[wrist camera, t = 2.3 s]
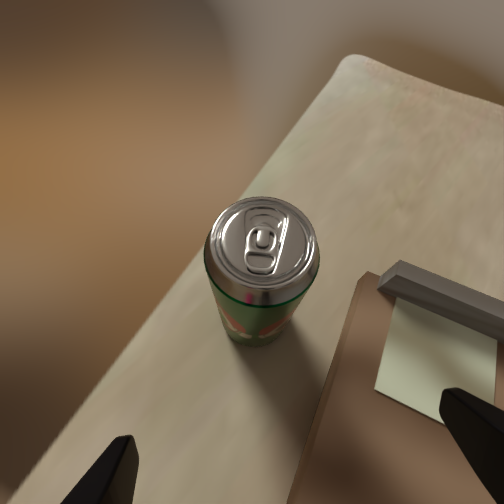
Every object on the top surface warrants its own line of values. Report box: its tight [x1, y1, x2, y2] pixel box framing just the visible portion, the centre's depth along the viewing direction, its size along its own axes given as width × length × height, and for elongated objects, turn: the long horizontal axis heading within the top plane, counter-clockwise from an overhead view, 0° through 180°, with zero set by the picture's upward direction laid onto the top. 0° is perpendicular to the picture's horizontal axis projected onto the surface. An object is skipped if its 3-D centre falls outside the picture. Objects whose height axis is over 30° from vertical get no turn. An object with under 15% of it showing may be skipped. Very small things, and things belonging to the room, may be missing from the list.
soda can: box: [204, 197, 320, 347], centre depth 16 cm, size 5×5×12 cm
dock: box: [286, 260, 504, 504], centre depth 16 cm, size 16×12×5 cm
